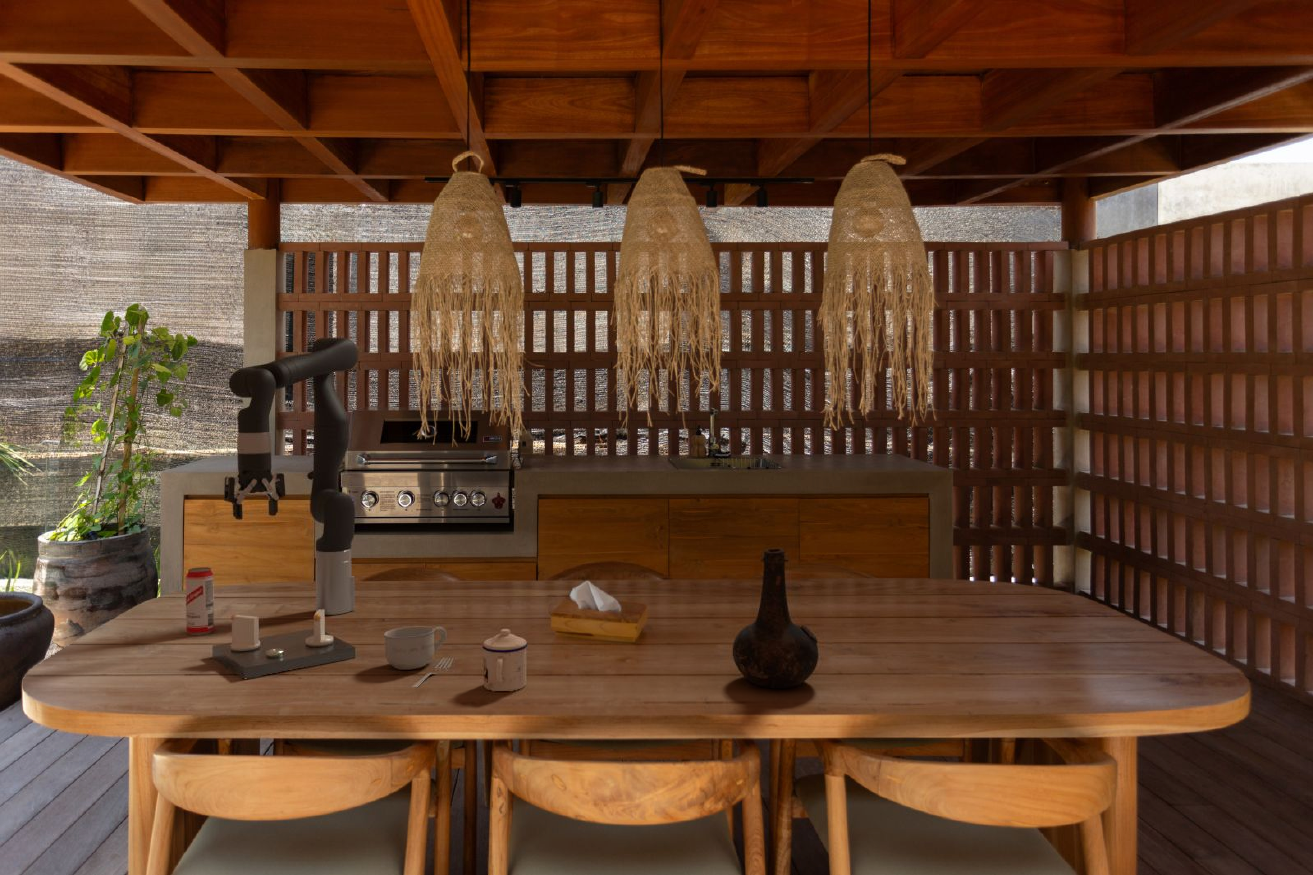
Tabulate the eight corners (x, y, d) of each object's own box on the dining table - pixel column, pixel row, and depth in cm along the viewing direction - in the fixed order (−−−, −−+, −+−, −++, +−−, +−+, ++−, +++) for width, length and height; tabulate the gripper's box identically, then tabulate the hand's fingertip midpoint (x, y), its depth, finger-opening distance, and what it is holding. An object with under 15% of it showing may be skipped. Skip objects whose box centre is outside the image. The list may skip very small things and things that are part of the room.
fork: (389, 701, 176) (389, 692, 176) (442, 664, 199) (442, 657, 199) (404, 702, 175) (404, 693, 175) (455, 665, 199) (455, 657, 199)
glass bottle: (818, 698, 177) (820, 559, 176) (728, 693, 180) (730, 555, 179) (817, 671, 195) (819, 544, 194) (735, 667, 198) (736, 541, 197)
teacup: (389, 676, 190) (389, 639, 190) (379, 662, 199) (379, 627, 199) (454, 667, 196) (454, 631, 196) (442, 654, 206) (441, 620, 206)
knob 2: (307, 639, 208) (307, 608, 207) (335, 638, 209) (334, 607, 209) (302, 647, 201) (302, 615, 201) (330, 646, 202) (330, 614, 202)
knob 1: (266, 645, 203) (265, 613, 203) (247, 652, 197) (246, 619, 197) (242, 642, 205) (241, 611, 205) (222, 649, 199) (222, 617, 199)
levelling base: (317, 638, 219) (317, 621, 219) (355, 657, 203) (355, 640, 203) (212, 656, 203) (212, 638, 203) (244, 679, 187) (244, 660, 187)
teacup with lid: (487, 678, 189) (487, 624, 188) (530, 679, 189) (530, 624, 188) (475, 697, 177) (475, 639, 176) (520, 698, 177) (520, 640, 176)
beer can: (202, 636, 220) (201, 572, 219) (180, 635, 221) (179, 571, 220) (220, 630, 226) (219, 567, 225) (198, 628, 227) (197, 566, 226)
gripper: (233, 453, 209) (235, 522, 210) (290, 450, 220) (291, 515, 221) (217, 452, 213) (219, 519, 214) (273, 448, 225) (275, 512, 226)
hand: (256, 517), depth 218 cm, fingers open, 8 cm apart
